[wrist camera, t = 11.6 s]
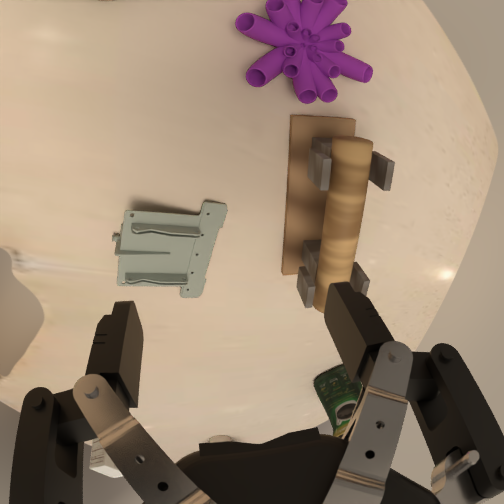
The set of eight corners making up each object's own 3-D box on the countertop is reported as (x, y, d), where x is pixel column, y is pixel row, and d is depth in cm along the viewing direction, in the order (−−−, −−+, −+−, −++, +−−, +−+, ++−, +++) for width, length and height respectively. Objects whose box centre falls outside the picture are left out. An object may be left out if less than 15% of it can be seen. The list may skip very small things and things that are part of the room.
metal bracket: (111, 306, 39) (121, 200, 32) (108, 278, 43) (119, 180, 36) (210, 304, 46) (240, 211, 39) (198, 279, 50) (224, 192, 43)
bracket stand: (290, 114, 35) (323, 131, 25) (352, 118, 36) (399, 137, 26) (281, 271, 46) (301, 324, 37) (332, 267, 47) (361, 315, 38)
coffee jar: (319, 392, 66) (343, 463, 50) (308, 377, 62) (334, 455, 46) (358, 374, 65) (389, 443, 49) (351, 357, 61) (385, 432, 45)
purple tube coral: (291, 100, 37) (258, 122, 31) (255, -5, 29) (211, -8, 23) (378, 89, 31) (367, 107, 25) (343, -29, 23) (320, -46, 17)
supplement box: (132, 431, 66) (130, 475, 56) (116, 437, 68) (113, 478, 57) (109, 420, 63) (104, 465, 52) (93, 426, 64) (88, 469, 54)
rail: (326, 134, 30) (343, 143, 26) (360, 136, 30) (381, 145, 27) (308, 295, 40) (318, 316, 37) (336, 291, 41) (348, 311, 37)
